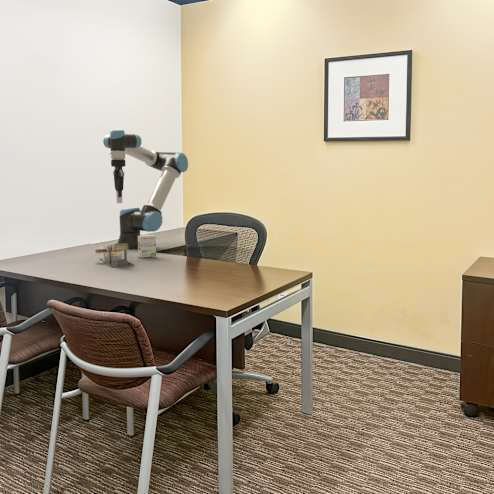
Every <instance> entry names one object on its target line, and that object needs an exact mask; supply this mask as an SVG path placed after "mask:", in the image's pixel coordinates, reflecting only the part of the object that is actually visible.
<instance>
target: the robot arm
mask: <svg viewBox="0 0 494 494" xmlns="http://www.w3.org/2000/svg"><path fill="white" fill-rule="evenodd" d="M102 143H103V145H104V147H105V148H107V149H110V153H109V155H110V166H111V167H113V168H114V169H113V172H112V175H113V182H114V189H115V192H116V193H115V194H116V204H123V190H124V179H125V172H124V170H123V167H126V155H127V156H130V157H133V158H134V159H137V160H139V161H141V162H143V163H144V164H145V165H146V166H149V167H151V168H152V169H156V170H157V171H160V172H162V173H161V175H160V177H159V178H158V180H157V182H156V186H155V187H154V189H153V191H152V193H151V196H150V197H149V199H148V202H147V204H143V206H142V208H141V209H140V207H133V208H124V209H123V208H122V209H120V211H119V232H120V233H119V238H118V241H117V243H116V244H121V243H128V250H129V249H133V250H134V249H138V236H142V234H141V232H147V233H148V232H149V233H150V232H156V231H158V230H159V229H160V228H161V227H162V225H163V216H162V215H163V213H162V211H161V210H162V208H163V206H164V205H165V202H166V200H167V198H168V196H169V193H170V191H171V189H172V187H173V186H174V183H175V180H176V179H178V178H180V176H181V174H182V173H184V172H187V171H188V168H189V160H188V157H187V156H186V154H185V153H183V152H179V151H176V152H169V151H167V152H164V151H163V152H162V151H160V152H159V151H155V150H149V149H148V148H145V147H143V146H141V145H142V137H141V136H140V135H139V134H136V133H132V134H131V133H129V134H128V133H125V130H123V129H111V130H110V132H109V134H106V135H105V136H104V138H103V142H102Z"/></svg>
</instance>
